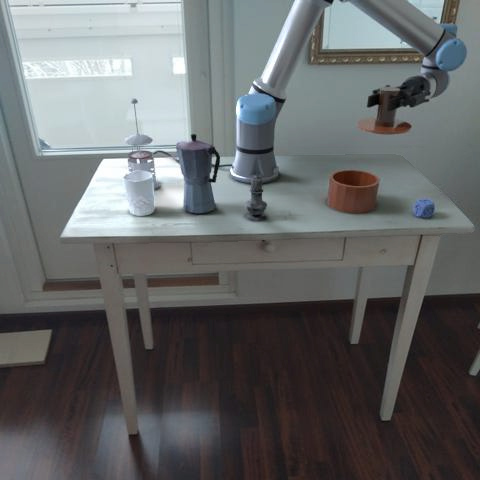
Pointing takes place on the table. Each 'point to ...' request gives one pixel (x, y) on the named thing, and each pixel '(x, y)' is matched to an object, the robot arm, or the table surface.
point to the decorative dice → (424, 208)
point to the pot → (352, 191)
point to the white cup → (139, 192)
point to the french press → (141, 153)
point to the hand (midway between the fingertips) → (379, 103)
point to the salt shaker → (256, 200)
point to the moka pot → (197, 174)
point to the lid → (385, 116)
